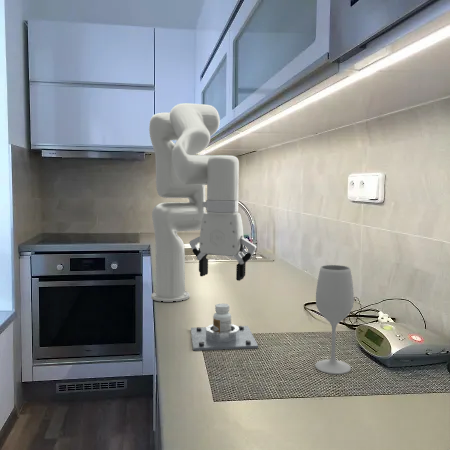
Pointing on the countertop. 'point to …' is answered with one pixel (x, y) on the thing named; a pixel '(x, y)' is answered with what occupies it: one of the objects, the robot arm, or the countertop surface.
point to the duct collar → (222, 334)
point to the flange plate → (203, 343)
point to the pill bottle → (222, 318)
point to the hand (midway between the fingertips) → (221, 277)
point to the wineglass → (334, 308)
